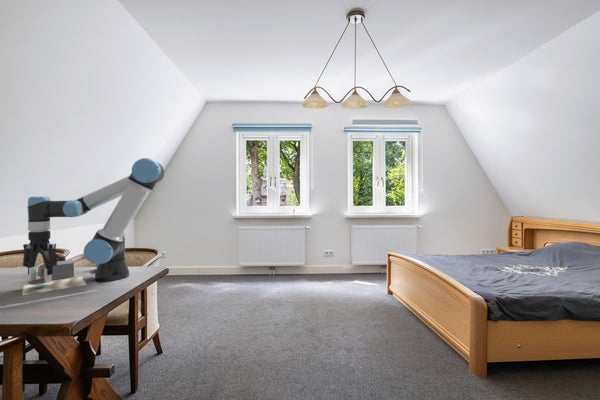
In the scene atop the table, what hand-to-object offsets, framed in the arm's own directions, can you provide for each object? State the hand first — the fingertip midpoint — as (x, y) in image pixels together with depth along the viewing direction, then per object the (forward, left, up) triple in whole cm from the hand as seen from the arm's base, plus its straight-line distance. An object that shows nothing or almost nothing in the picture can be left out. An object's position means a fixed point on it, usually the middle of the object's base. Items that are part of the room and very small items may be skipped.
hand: (40, 281), depth 137 cm
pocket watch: (0, 0, 0) cm, 1 cm away
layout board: (-4, -4, -3) cm, 6 cm away
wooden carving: (+21, -31, -4) cm, 38 cm away
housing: (+7, -18, -3) cm, 20 cm away
